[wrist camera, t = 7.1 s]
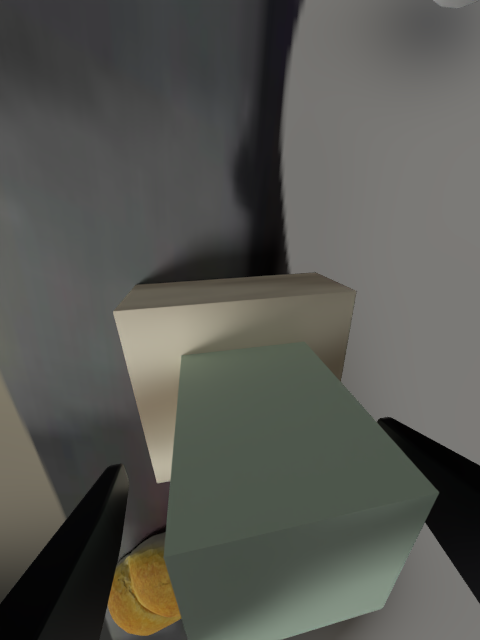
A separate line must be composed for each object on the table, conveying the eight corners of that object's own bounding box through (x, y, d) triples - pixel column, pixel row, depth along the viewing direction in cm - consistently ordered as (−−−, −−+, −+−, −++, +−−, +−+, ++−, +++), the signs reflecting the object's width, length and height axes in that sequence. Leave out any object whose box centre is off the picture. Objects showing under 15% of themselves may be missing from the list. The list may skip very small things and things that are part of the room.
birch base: (302, 404, 16) (328, 450, 13) (165, 426, 15) (157, 483, 12) (315, 272, 13) (356, 290, 9) (135, 284, 11) (113, 311, 8)
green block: (296, 429, 12) (382, 607, 6) (194, 447, 11) (195, 666, 6) (304, 341, 10) (439, 492, 4) (181, 355, 9) (163, 557, 4)
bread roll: (94, 575, 20) (73, 654, 16) (163, 514, 18) (155, 587, 15) (174, 590, 23) (171, 658, 20) (238, 539, 22) (247, 604, 18)
